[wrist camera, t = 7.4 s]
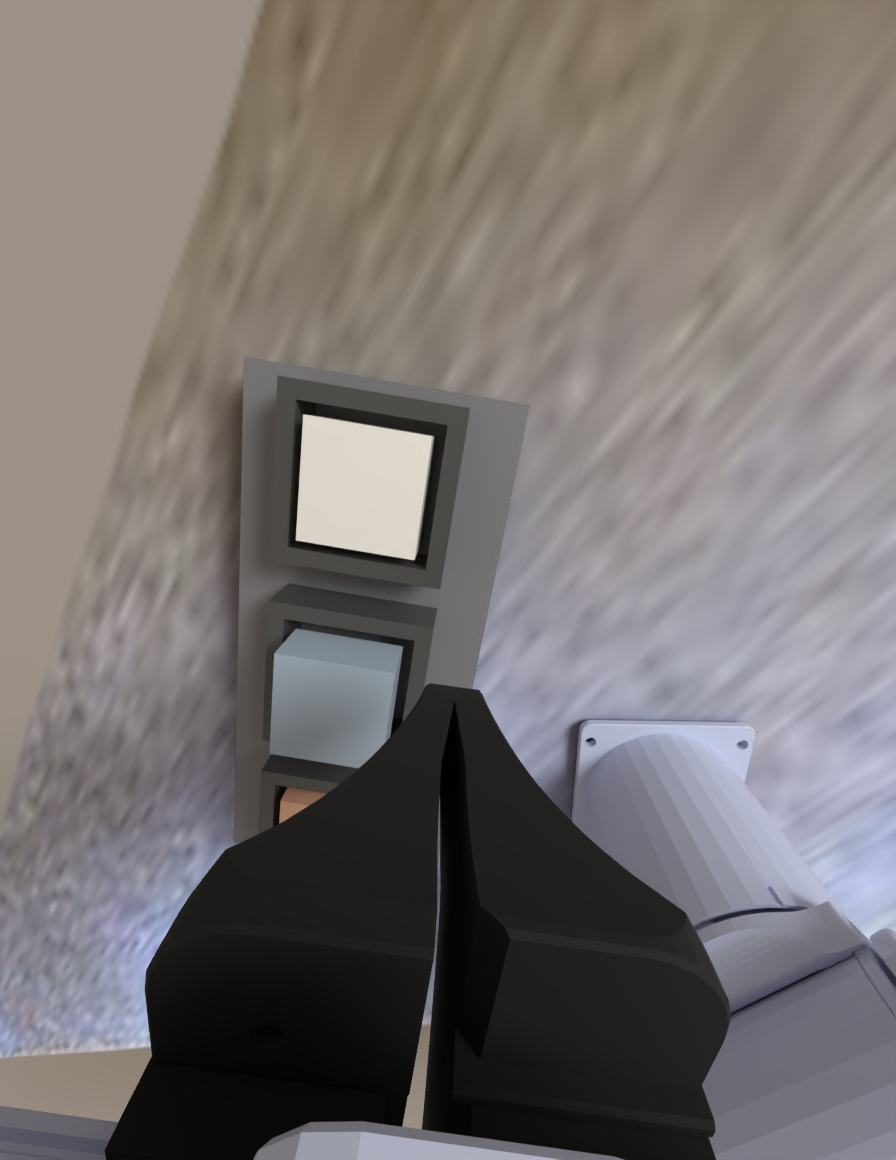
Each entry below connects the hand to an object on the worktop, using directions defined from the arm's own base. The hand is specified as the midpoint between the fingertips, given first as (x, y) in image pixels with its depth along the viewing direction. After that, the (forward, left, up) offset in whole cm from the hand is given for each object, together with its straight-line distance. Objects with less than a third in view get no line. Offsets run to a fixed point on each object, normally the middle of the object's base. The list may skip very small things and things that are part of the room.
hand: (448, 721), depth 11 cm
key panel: (-2, +4, -9) cm, 11 cm away
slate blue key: (-2, +4, -6) cm, 7 cm away
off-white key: (+5, +3, -7) cm, 9 cm away
